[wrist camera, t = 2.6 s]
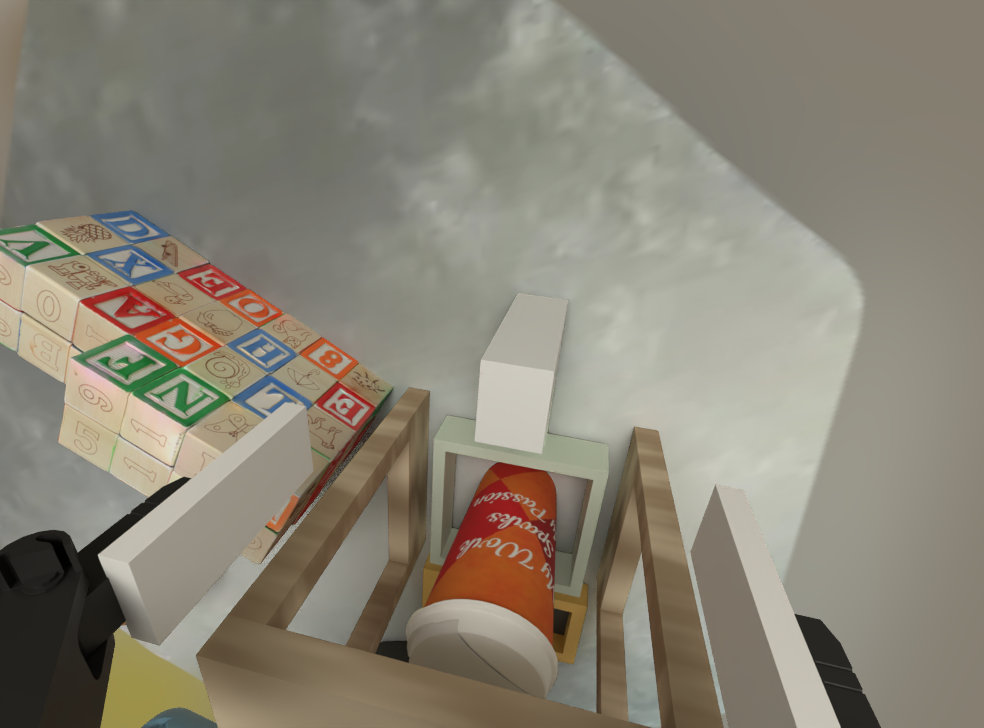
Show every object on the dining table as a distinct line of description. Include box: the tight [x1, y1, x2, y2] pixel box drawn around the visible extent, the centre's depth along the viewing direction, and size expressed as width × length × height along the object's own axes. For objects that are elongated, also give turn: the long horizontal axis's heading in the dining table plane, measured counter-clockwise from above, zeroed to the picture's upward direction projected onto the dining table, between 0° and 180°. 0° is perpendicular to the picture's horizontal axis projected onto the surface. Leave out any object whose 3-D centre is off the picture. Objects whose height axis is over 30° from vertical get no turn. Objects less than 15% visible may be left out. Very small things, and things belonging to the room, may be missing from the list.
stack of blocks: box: [0, 210, 393, 564], centre depth 28 cm, size 21×6×12 cm, turn 57°
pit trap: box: [422, 553, 588, 664], centre depth 38 cm, size 7×13×2 cm, turn 85°
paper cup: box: [405, 462, 558, 699], centre depth 28 cm, size 8×8×14 cm
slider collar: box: [430, 293, 609, 598], centre depth 28 cm, size 21×11×10 cm, turn 175°
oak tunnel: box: [196, 388, 724, 728], centre depth 26 cm, size 14×17×20 cm
